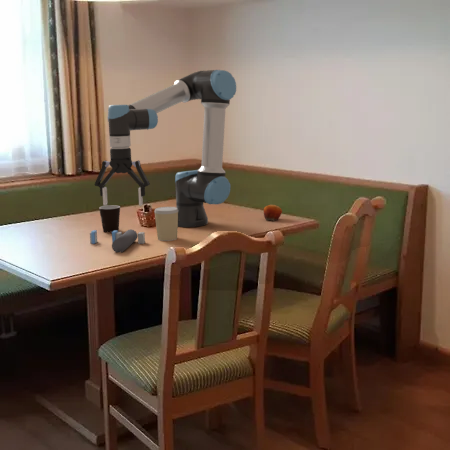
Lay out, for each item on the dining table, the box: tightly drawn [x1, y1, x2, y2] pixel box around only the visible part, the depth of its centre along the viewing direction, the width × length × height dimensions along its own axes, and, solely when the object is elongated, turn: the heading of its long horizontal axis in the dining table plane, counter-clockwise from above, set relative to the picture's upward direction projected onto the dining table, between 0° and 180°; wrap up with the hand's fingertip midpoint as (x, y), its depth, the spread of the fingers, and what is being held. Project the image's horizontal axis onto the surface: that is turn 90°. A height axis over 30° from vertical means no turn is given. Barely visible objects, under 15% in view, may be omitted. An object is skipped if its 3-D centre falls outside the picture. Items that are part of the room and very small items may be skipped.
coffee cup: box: [154, 206, 179, 242], centre depth 261 cm, size 9×9×12 cm
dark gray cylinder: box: [111, 229, 138, 253], centre depth 250 cm, size 5×17×5 cm, turn 172°
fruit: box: [263, 204, 283, 222], centre depth 292 cm, size 8×8×8 cm
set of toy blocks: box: [89, 229, 146, 245], centre depth 256 cm, size 21×3×5 cm, turn 82°
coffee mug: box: [98, 204, 121, 233], centre depth 279 cm, size 12×9×10 cm
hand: (123, 205), depth 247 cm, fingers open, 13 cm apart
